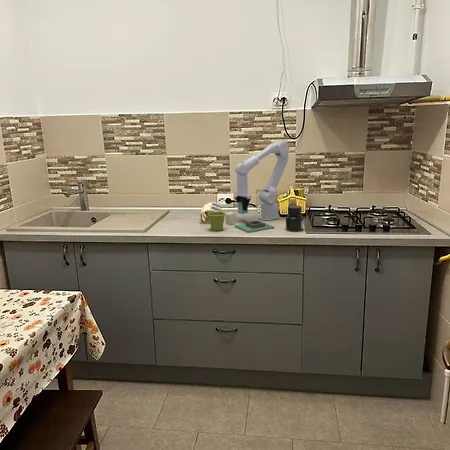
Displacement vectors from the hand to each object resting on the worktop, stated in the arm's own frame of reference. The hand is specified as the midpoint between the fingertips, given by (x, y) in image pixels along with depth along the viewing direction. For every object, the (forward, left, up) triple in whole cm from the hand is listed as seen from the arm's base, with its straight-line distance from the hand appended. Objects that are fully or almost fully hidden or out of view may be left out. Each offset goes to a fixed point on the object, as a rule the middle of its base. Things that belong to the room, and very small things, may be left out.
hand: (243, 209), depth 238 cm
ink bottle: (-13, +30, -7) cm, 33 cm away
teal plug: (0, 0, -2) cm, 2 cm away
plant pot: (+20, +7, -7) cm, 22 cm away
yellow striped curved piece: (+11, -17, -7) cm, 22 cm away
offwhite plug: (+8, 0, -7) cm, 11 cm away
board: (+2, +15, -7) cm, 17 cm away
